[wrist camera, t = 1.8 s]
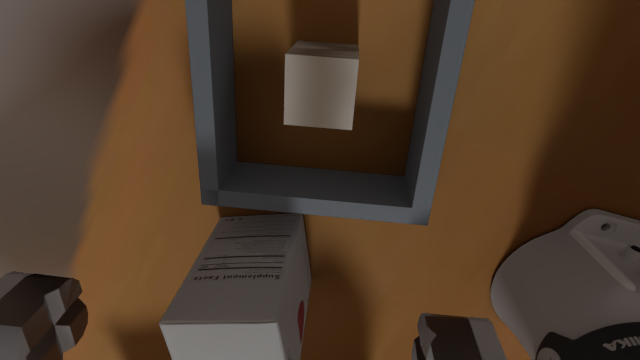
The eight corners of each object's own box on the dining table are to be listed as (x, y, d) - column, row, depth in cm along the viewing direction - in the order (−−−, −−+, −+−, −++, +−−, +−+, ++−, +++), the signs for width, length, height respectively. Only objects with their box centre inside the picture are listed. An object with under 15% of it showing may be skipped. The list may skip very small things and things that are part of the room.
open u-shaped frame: (455, -10, 31) (476, -8, 26) (417, 191, 39) (427, 225, 33) (211, -26, 32) (182, -28, 27) (222, 174, 40) (201, 204, 34)
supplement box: (313, 281, 45) (295, 410, 31) (235, 283, 46) (185, 408, 32) (304, 210, 41) (279, 322, 27) (218, 214, 42) (154, 324, 28)
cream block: (358, 44, 33) (359, 59, 27) (352, 103, 36) (351, 130, 29) (298, 40, 34) (285, 53, 27) (296, 99, 36) (283, 124, 30)
